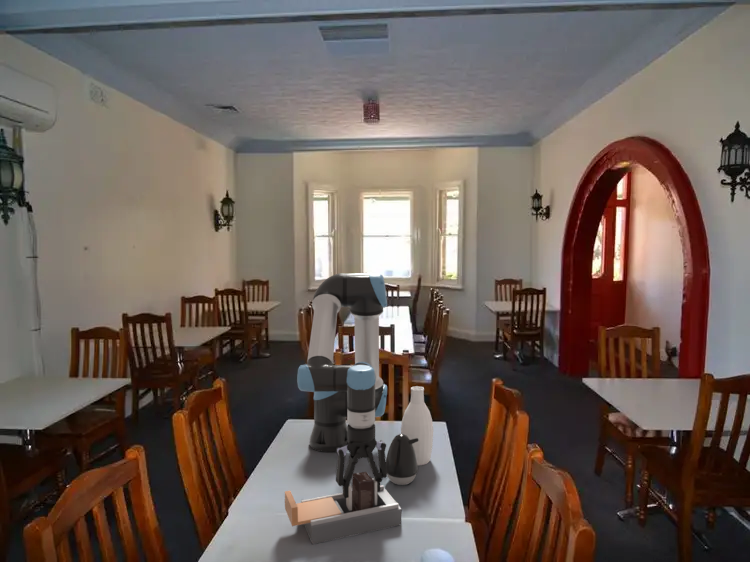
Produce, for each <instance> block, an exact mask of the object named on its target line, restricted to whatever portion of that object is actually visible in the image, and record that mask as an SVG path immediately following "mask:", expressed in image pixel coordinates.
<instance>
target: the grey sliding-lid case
mask: <svg viewBox="0 0 750 562" xmlns="http://www.w3.org/2000/svg"><path fill="white" fill-rule="evenodd" d="M329 497H332V498H333V500H334V502H335V503H336V505H337V507H338V508H339V510H340V512H341V514H340V515H335V516H330V517H325V518H320V519H315V520H311V523H306V524H303V526H304V528H305V530H306V532H307V535H308V537H309V538H308V539H310V541H311V544H312V545H316V544H319V543H324V542H330V541H334V540H339V539H343V538H347V537H353V536H356V535H363V534H365V533H371V532H376V531H380V530H384V529H388V528H393V527H398V526H401V525H402V508H401V506H400V505H399V503H398V502H397V501H396V500H395V499H394V498H393V497H392V495H391V494H390V493H389V492H388V490H387V489H385V486H384V484H382V485H381V484H380V491H379V492H377V505H374V504H373V508H369V509H364V510H359V511H354V512H352V510H350V511H349V509H348V508H347V506H346V498H345V497H344V496H343V492H339V493H333V494H328V495H323V496H318V497H312V498H307V499H301V500H300V503H302V502H308V501H313V500H318V499H323V498H329Z"/></svg>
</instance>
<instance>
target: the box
mask: <svg viewBox="0 0 750 562" xmlns="http://www.w3.org/2000/svg"><path fill="white" fill-rule="evenodd" d="M372 478H373V477H371V475H370V474H369V473H368V472H367V471H362V472H361V471H360V472H355V473H354V472H353V475H352V478H351V481H352V483H351V484H352V485H351V486H352V512H354V511H359V510H364V509H369V508H373V483H374V480H373V479H372Z"/></svg>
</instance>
